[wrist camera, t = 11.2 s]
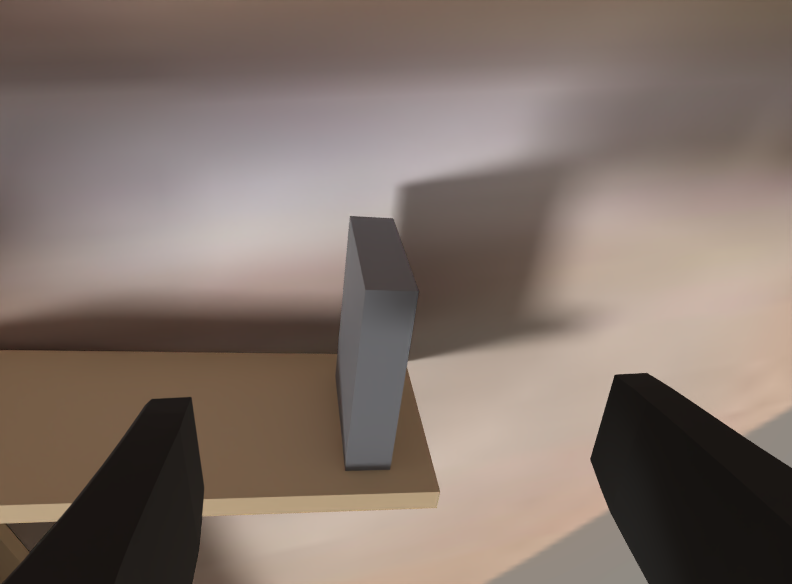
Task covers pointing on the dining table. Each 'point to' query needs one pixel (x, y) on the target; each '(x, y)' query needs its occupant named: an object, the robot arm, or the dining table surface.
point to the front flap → (240, 410)
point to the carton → (10, 552)
